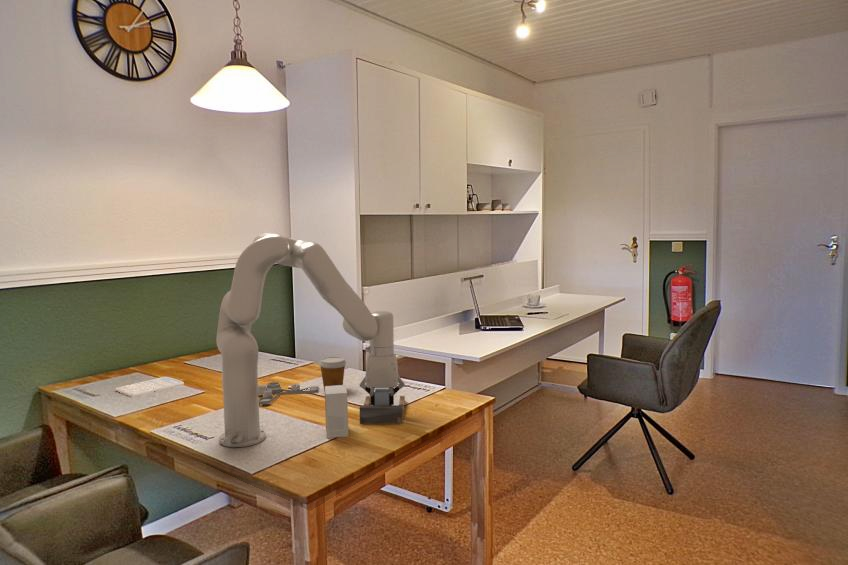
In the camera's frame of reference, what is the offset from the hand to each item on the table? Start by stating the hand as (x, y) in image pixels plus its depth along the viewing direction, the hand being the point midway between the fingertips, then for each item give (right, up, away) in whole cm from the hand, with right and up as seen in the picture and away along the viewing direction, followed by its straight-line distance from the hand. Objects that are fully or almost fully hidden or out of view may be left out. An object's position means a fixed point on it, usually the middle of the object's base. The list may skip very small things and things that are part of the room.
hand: (382, 406), depth 185 cm
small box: (-12, -5, -14) cm, 20 cm away
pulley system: (-38, -1, +22) cm, 43 cm away
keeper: (0, -1, 0) cm, 1 cm away
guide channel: (0, -2, +3) cm, 4 cm away
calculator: (-88, 0, +31) cm, 94 cm away
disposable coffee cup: (-19, 0, +24) cm, 31 cm away
